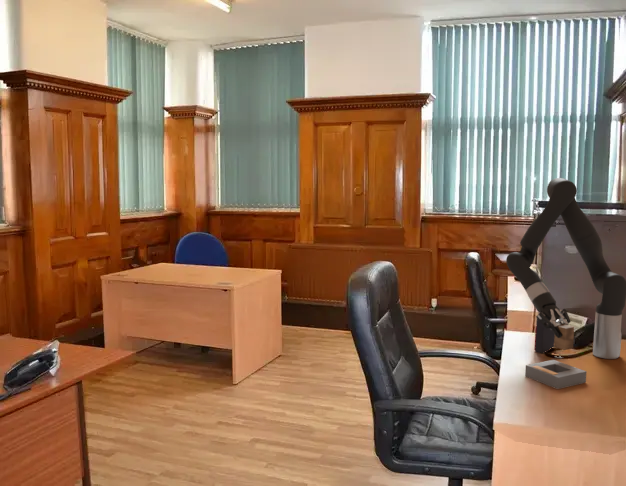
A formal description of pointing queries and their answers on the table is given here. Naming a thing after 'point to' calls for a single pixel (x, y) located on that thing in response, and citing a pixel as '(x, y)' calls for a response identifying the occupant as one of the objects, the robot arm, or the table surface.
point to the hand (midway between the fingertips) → (565, 335)
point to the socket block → (555, 374)
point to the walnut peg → (565, 337)
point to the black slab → (543, 338)
